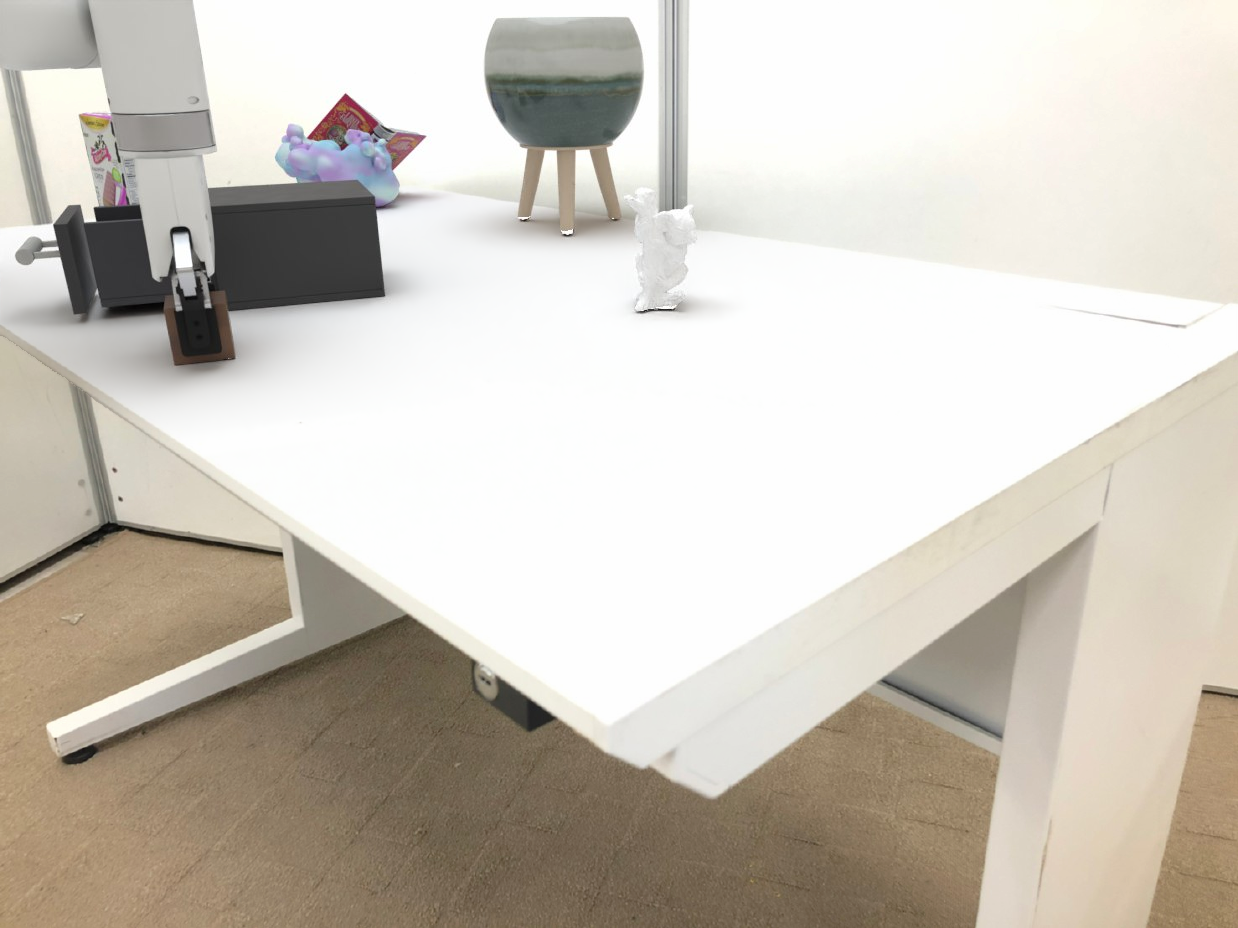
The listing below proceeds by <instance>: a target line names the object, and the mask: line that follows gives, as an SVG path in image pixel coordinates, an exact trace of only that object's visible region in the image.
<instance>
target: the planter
mask: <svg viewBox="0 0 1238 928" xmlns="http://www.w3.org/2000/svg"><path fill="white" fill-rule="evenodd" d="M483 79H484V86H485V91H486V94H487V99H488V102H489V105H490V107H491V109H492V112H493V113H494V116H495V117H496V119H497V120H498V123H500V125H501V127H502V128H503V129H504V130H505V132H506V133H507V134H508V135H509V136H511V138H512V139H513V140H514V141H516V142H517V143H518V144H519V147H520V148H522V149H526V158H525V165H524V171H523V177H522V185H521V191H520V197H519V203H518V211H517V218H518V217H529V216H532V211H533V208H534V203H535V199H536V195H537V190H538V186H539V182H540V178H541V173H542V167H543V164H544V163H543V162H544V158H545V152H546V151H554V152H555V151H556V169H557V189H558V192H557V193H558V211H559V212H558V214H559V215H558V216H559V231H560V230H562V231H568V230H572V229H574V230H575V221H576V219H575V215H576V214H575V213H576V212H575V211H576V151H587V150H588V151H589V154H590V158H591V162H592V165H593V168H594V173H595V176H596V180H597V183H598V186H599V190H600V193H601V196H602V199H603V203H604V206H605V208H606V212H607V216H608V218H609V219H610V218H614V219H617V220H619V219H621V218H622V213H621V207H620V202H619V198H618V194H617V189H616V186H615V185H616V184H615V181H614V176H613V172H612V167H611V162H610V158H609V152H608V148H609V147H613V145H614V142H615V141H616V140H617V139H618V138H619V137H620V136H621V135H622V134H623V133H624V132H625V131H626V130H627V128H628V126H629V125H630V124H631V122H632V120H633V118H634V116H635V114H636V112H637V111H638V107H639V105H640V102H641V98H642V94H643V90H644V84H645V83H644V82H645V59H644V53H643V49H642V45H641V41H640V38H639V34H638V32H637V30H636V27H635V26H634V24H633V22H632V20H631V19H630V17H629V16H548V17H547V16H546V17H545V16H544V17H543V16H541V17H538V16H536V17H499V18H498V17H497V18H495V20H494V22H493V23H492V26H491V28H490V31H489V33H488V36H487V39H486V44H485V48H484V54H483Z"/></svg>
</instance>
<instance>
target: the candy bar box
mask: <svg viewBox="0 0 1238 928" xmlns="http://www.w3.org/2000/svg"><path fill="white" fill-rule="evenodd" d="M78 119H79V122H80V128H81V131H82V136H83V142H84V145H85V150H86V154H87V158H88V163H89V167H90V172H91V175H92V180H93V185H94V190H95V194H96V199H97V203H98V206H115V205H131V204H140V203H139V197H138V190H137V184H136V175H135V166H134V158H125V157H122V156H121V157H120V156H119V153H118V148H117V143H116V138H115V133H114V128H113V123H112V118H111V112H110V111H94V112H93V111H92V112H84V113H83V112H82V113H79V114H78Z"/></svg>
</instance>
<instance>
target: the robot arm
mask: <svg viewBox="0 0 1238 928" xmlns="http://www.w3.org/2000/svg"><path fill="white" fill-rule="evenodd" d="M0 68H1V69H4V70H8V71H18V72H20V71H21V72H23V71H28V72H29V71H31V72H32V71H46V70H63V69H64V70H65V69H71V70H83V69H85V70H86V69H101V73H102V78H103V83H104V87H105V93H106V98H107V103H108V107H109V112H111V118H112V123H113V128H114V133H115V138H116V143H117V148H118V153H119V156H120V157H121V156H122V157H125V158H134V166H135V175H136V184H137V190H138V197H139V203H140V208H141V214H142V219H143V225H144V230H145V236H146V241H147V247H148V253H149V259H150V265H151V271H152V277H153V278H154V279H155V280H156V281H158V282H162V279H163V277H165V276H168V272H169V268H170V278H171V281H172V288H173V295H174V302H175V307H176V309H175V310H174V315H175V320H176V326H177V331H178V336H179V341H180V347H181V352H182V355H183V356H185V357H191V356H200V355H210V354H218V353H221V351H222V344H221V338H220V333H219V327H218V321H217V315H216V310H215V306H211V300H210V293H209V292H213V291H215V286H214V283H209V282H211V278H210V276H211V275H212V274H213V273H214V269H215V249H214V232H213V223H212V214H211V207H210V200H209V193H208V188H209V187H208V182H207V175H206V168H205V163H204V157H203V156H204V155H210V154H213V153H217V152H218V148H217V142H216V135H215V129H214V123H213V117H212V110H211V105H210V98H209V92H208V85H207V79H206V75H205V74H206V73H205V67H204V62H203V55H202V49H201V43H200V37H199V31H198V24H197V18H196V12H195V6H194V0H0ZM175 269H176V270H175ZM202 294H203V296H202Z"/></svg>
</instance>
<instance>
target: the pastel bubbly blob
mask: <svg viewBox="0 0 1238 928" xmlns="http://www.w3.org/2000/svg"><path fill="white" fill-rule="evenodd" d="M285 133H286V134H285V135H283V136H282V137H281V144H280V146H279V147H278V149H277V150H276V153H275V155H274V159H275V162H276V163H277V164H278V166H279V167H280V168H281V169H282V170H283V171H284V173H285V174H286V175H287V176H289V177H290V178H294V179H295V180H296V183H306V182H324V181H342V180H358V181H359V182H360V183H362V184H363V185H364V186H365V187H366V188H367V189H368V190H369V191H370V192H371V193H372V194H373V195H374V196H375V202H376V203H375V204H376V208H380V207H384V206H385V205H388V204H390V203H392V202H393V201H395V199H396V198H397V197H398V195H399V191H400V186H401V184H400V181H399V179H398V178H397V175H396V174H395V172H394V170H395V169H396V168H397V167H398V166H399V165H401V163H402V162H404V160H405V159H406V158H407V157H408V156H409V155H410V154H411V153H412V152H413V151H414V150H415V149H416V148H417V147H418V146H419V145H420V144H421V143H422V142H423V141H424V140H425V139H426V138H427V134H426V135H424V134H420V133H419V132H417V131H410V130H404V129H399V128H393V127H386V126H385V124H384V123H383V122H382V121H381V120H380V119H379V118H377V117H376V116H375V115H374V114H372V113H371V112H370V111H368V109H366V108H365V107H363V106H362V105H361V104H359V102H357V100H355V99H354V98H353V97H351V96H350V95H349V94H348V93H347V92H345V93H344V94H343V95H342V96H341V97H340V99H339V100H338V101H337V102H336V103H335V104H334V105H333V106H332V108H331V109H330V110H329V111H328V113H327V114H326V115H325V116H324V117H323V118H322V119H321V121H320V122H319V123H318V124H317V125H316V126H315V127H314V129H313V130H312V131H311V132H310V133H309V135H307V136H306V135H305V131H304V129H303V127H302V126H301V125H300V124H295V123H289V124H288V125H287V127H286V132H285Z"/></svg>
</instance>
